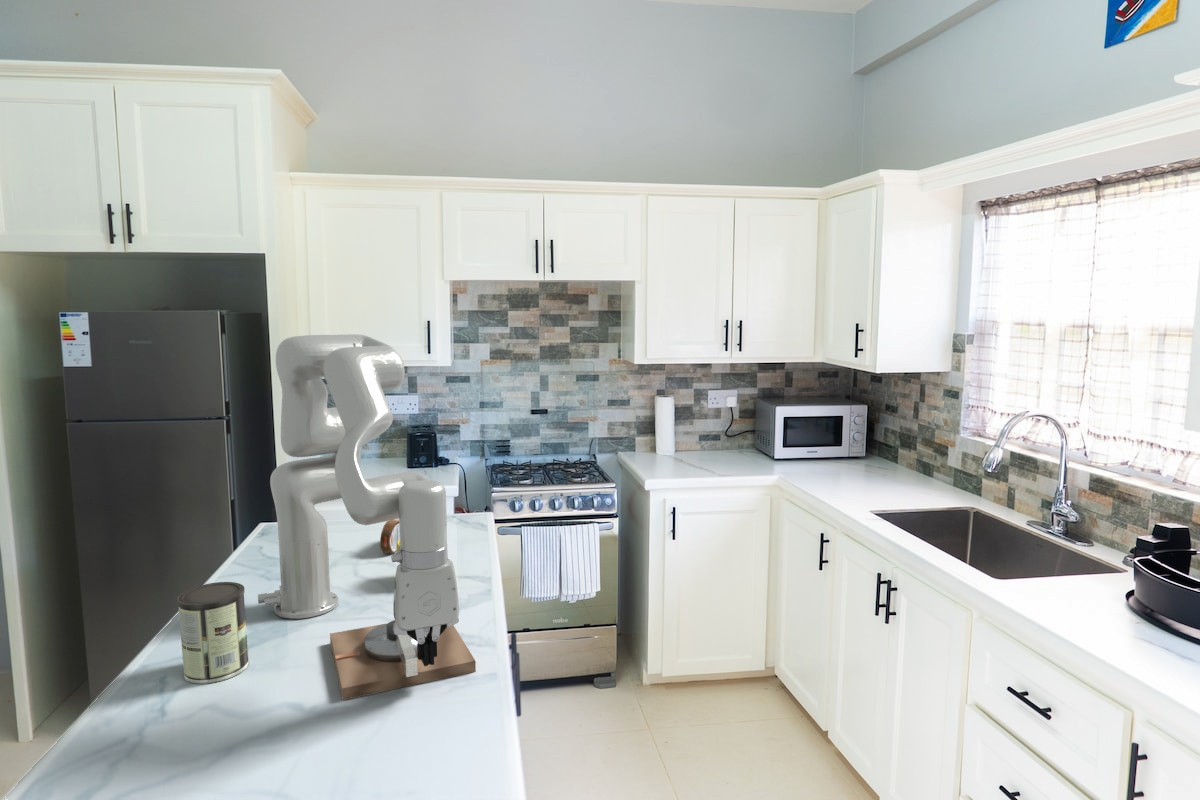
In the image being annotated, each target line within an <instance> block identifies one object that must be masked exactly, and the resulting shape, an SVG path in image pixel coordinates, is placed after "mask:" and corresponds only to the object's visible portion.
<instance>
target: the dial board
mask: <svg viewBox="0 0 1200 800" xmlns="http://www.w3.org/2000/svg"><path fill="white" fill-rule="evenodd" d="M388 623H389V622H388ZM388 623H386V624H388ZM384 624H385V623H384ZM384 624H377V625H372V626H371V625H370V626H366V627H360V628H359V627H358V628H353V629H348V630H342V631H338V632H337V631H336V632H331V633H330V634H329V639H330V648H331V652H332V656H333V661H334V666H335V670H336V675H337V680H338V681H337V682H338V685H339V688H340V694H341V698H342V699H341V700H342V701H345V700H350V699H355V698H359V697H363V696H364V697H365V696H369V695H373V694H378V693H381V692H386V691H391V690H396V689H401V688H406V687H411V686H415V685H420V684H424V683H430V682H433V681H439V680H443V679H446V678H447V679H448V678H452V677H457V676H460V675H461V676H463V675H466V674H470V673H476V672H477V671H476V670H477V667H476V664H477V663H476V659H475V658H474V656H473V655H472V653H471V652H470V650H469V648H468V646H467V645H466V643H465V642H464V640H463V638H462V636H461V635H460V633H459V632H458V630H457V629H456V627H455V625H452V626H450V627H447V628H446V629H445V630H444V631H443V633H442V634H441V635H440V636H439V639H438V641H437V657H434V665H431V664H429V665H428V666H424V664H423V662H422V660H419V659H418V657H417V671H418V675H415V676H410V677H406V675H405V671H404V668H403V665H402V662H401V661H392V662H389V661H379V660H375V659H372V658H370V657H369V656H368V655H367V654H366V652H365V636H366V635H367V634H368V633H369V632H370V631H371V630H373V629H375V628H377V627H379V626H381V625H384Z"/></svg>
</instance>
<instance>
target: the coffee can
mask: <svg viewBox="0 0 1200 800" xmlns="http://www.w3.org/2000/svg"><path fill="white" fill-rule="evenodd" d="M176 602H177V605H178V615H179V616H178V618H179V627H180V640H181V642H180V643H181V653H182V654H181V655H182V664H183V678H184V680H185V681H187V682H188V683H193V684H198V685H199V684H201V685H202V684H203V685H205V684H213V683H218V682H219V683H220V682H221V681H226V680H228V679H231V678H233V677H236V676H238V675H240V674H241V673H242V672H244V671H245V670H246V669H247V668H248V666H249V665H250V659H249V650H248V648H249V647H248V636H247V624H246V620H247V619H246V605H245V586H244V585H243V584H242V583H238V582H235V581H234V582H233V581H219V582H217V581H216V582H210V583H205V584H200V585H197V586H194V587H191V588H188V589H187V590H185V591H183V592H181V593H180V594H179V595H178V596H177V599H176Z"/></svg>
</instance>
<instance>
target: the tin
mask: <svg viewBox="0 0 1200 800" xmlns="http://www.w3.org/2000/svg"><path fill="white" fill-rule="evenodd" d="M399 539H400V523H399V518H398V519H393V520H389V521H385V522H384V525H383V527H382V529H381V533H380V541H379V545H380V546H379V547H380V551H381V552H382V553H383V554H395V553H396V552H397V542H398V540H399Z"/></svg>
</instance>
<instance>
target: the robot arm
mask: <svg viewBox="0 0 1200 800" xmlns="http://www.w3.org/2000/svg"><path fill="white" fill-rule="evenodd" d="M275 367H276V372H277V376H278V378H279V381H280V386H281V397H282V398H281V413H280V445H281V448H282V450H283V452H284V453H285V454H286V455H287V456H290V457H293V458H303V459H298V460H297V459H296V460H291V461H288V462H284V463H282V464H280V465H278V466H277V467H275V469H274V470H272V472H271V475H270V480H269V485H270V490H271V494H272V498H273V502H274V507H275V513H276V520H277V521H276V523H277V535H278V536H277V537H278V552H279V553H278V555H279V568H280V570H279V571H280V572H279V573H280V585H279V588H278V590H274V592H270V593H269V592H268V593H267V592H266V593H258V594H257V604H259V605H260V604H264V607H266V606H272V605H274V607H273V610H274V613H275V615H276V616H278V617H280V618H283V619H293V620H294V619H307V618H312V617H317V616H321V615H323V614H326V613H329V612H330V611H332V610H334V609H335V608H336V607H337V606H338V604H339V596H338V595H337V594H336V593H335V592H332V591H331V584H330V583H331V581H330V580H331V579H330V558H329V555H330V554H329V538H328V537H329V536H328V535H329V534H328V524H327V520H326V519H325V518H324V516H323V515H322V514H321V513H320V512H319V511H317V509H316V508H315V505H318V504H321V503H326V502H329V501H330V502H331V501H337V500H340V499H342V502H343V505H344V507H345V509H346V511H347V513H348V515H349V516H350V518H351V519H352V520H353V521H354V522H355V523H357V524H359V525H362V526H370V525H374V524H380V523H386V522H387V521H389V520H393V519H398V518H399V523H400V547H399V550H398V552H395V553H390V557H391V562H392V563H399V564H398V565H397V567H396V571H395V577H394V587H393V609H392V610H393V617H394V620H395V622H394V626H393V631H394V634H395V635H409V636H410V637H412V638H413V639H414V640H416V641H417V655H418V659H419V660H422V662H423V664H424V666H428V665H429V664H431V665H434V657H437V641H438V639H439V636H440V635H441V634H442V633H443V631H444V630H445V629H446V628H447V627H450V626H452V625H454V626H455V625H456V624H458V623H459V622H460V620H459V616H460V605H459V604H460V603H459V592H458V585H457V584H458V583H457V576H456V570H455V566H454V563H453V561H452V560H451V559H449V558H448V556H449V555H448V523H447V522H448V521H447V520H448V519H447V491H446V487H445V485H444V484H443V483H441V482H439V481H436V480H429V479H428V478H427V477H426V476H425V475H424V474H422V473H420V472H417V471H406V472H401V473H400V472H399V473H395V474H387V475H382V476H377V477H372V478H371V477H370V478H367V479H365V478H364V476H363V473H362V471H361V455H362V447H363V446H364V445H366V444H368V443H369V442H371V441H372V440H375V439H376V438H378V436H380V435H381V434H383V433H385V432H386V431H387V430H388V429H389V428H390V427H391V425H392V424H393V421H394V415H393V412H392V410H391V408H390V405H389V402H388V400H387V398H386V395H385V393H384V391H389V390H390V391H391V390H395V389H398V388H399V387H400V386H401V385H402V384H403V381H404V379H405V376H406V375H405V372H406V370H405V365H404V362H403V359H402V357H401V355H400V354H399V353H398V351H397V350H396V349H395V348H393V346H391V345H388V344H387V343H384V342H382V341H380V340H377V339H375V338H373V337H370V336H368V335H365V334H351V333H350V334H309V335H307V334H306V335H297V336H291V337H288V338H285V339H283V340H282V341H280V342H279V345H278V346H277V349H276V352H275ZM323 379H324V380H325V381H326V383H325V382H324V381H323ZM326 384H327V386H326ZM327 387H328V389H329V392H330V394H331V397H332V400H333V402H334V406H335V407H333V406H332V407H328V399H329V398H328V397H329V392H328V389H327ZM329 454H331V455H329ZM322 455H325V456H322ZM326 455H327V456H326ZM315 456H316V457H315ZM317 456H319V457H317ZM306 457H309V458H306ZM428 627H429V631H428V632H429V633H428V634H427V635H426V637H425V636H424V632H423V628H428Z"/></svg>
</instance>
